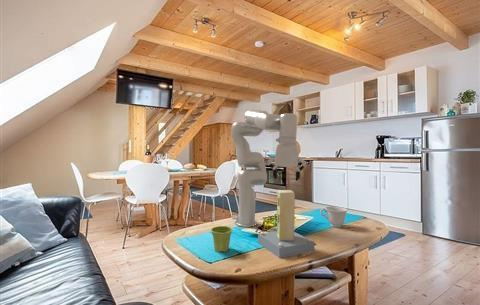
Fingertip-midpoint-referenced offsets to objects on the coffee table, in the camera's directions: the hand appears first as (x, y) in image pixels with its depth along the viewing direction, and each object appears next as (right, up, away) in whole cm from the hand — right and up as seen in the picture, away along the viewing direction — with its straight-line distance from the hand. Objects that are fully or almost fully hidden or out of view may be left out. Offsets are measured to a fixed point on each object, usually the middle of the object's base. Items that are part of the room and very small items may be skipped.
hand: (286, 179), depth 116 cm
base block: (0, -30, 0) cm, 30 cm away
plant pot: (-29, -30, -4) cm, 42 cm away
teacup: (+33, -31, +34) cm, 56 cm away
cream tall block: (-1, -27, 0) cm, 27 cm away
